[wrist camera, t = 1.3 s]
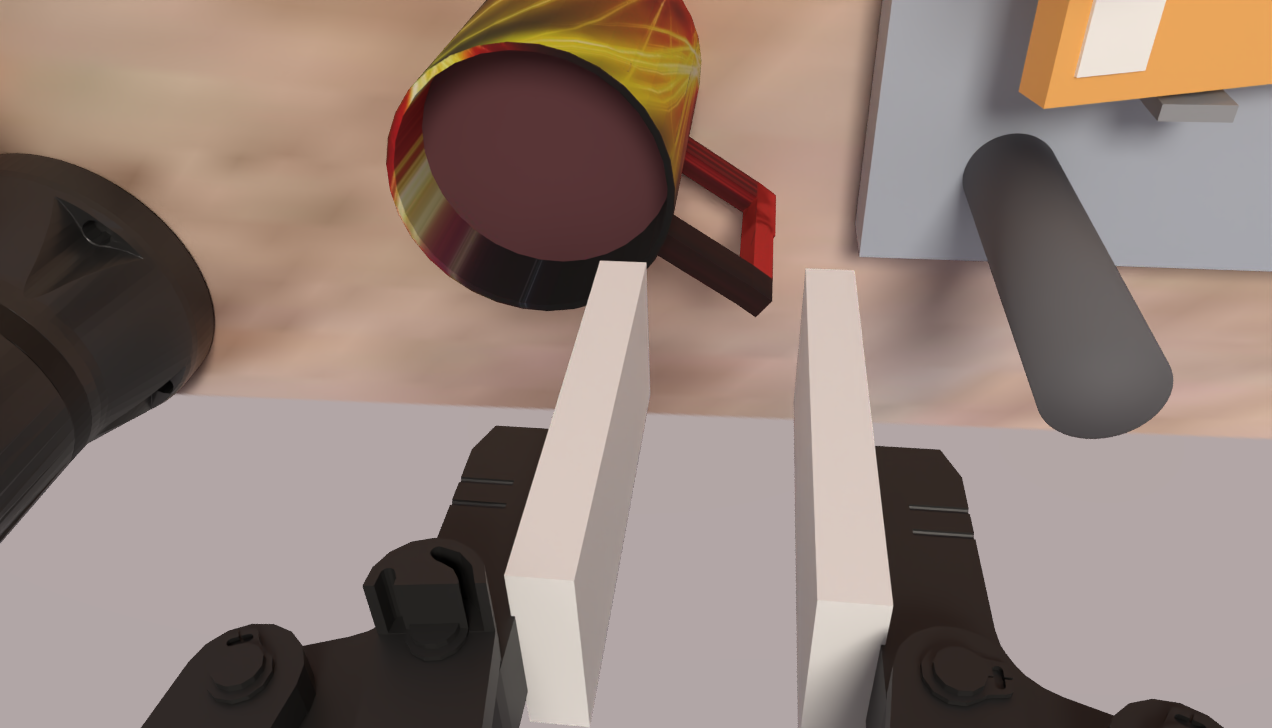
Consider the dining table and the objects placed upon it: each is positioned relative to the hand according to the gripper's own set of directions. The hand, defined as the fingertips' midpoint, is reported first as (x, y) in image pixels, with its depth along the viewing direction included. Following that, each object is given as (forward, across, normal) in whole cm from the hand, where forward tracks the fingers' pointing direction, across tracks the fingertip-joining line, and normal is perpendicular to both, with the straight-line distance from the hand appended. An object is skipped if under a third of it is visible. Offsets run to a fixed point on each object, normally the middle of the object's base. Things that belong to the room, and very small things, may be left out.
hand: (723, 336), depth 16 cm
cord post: (+24, +10, -8) cm, 27 cm away
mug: (+27, -5, -5) cm, 28 cm away
